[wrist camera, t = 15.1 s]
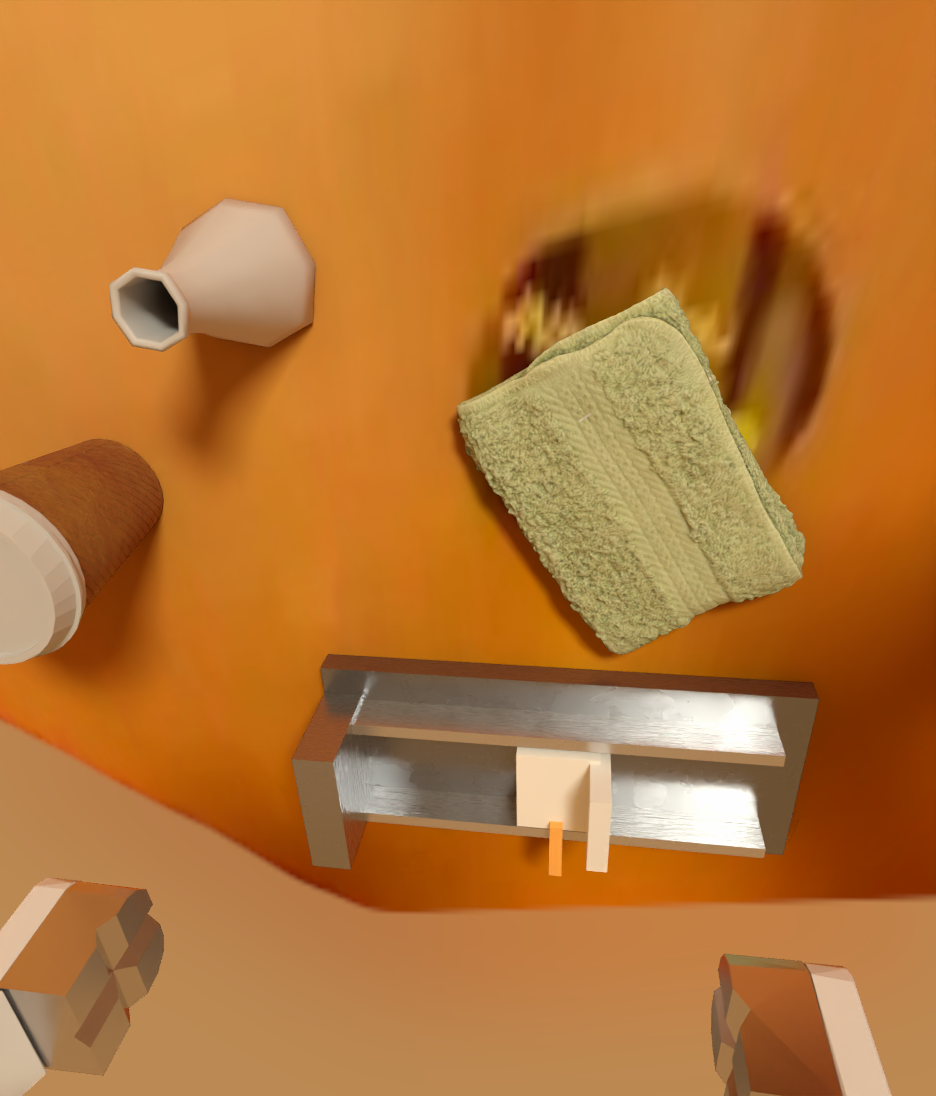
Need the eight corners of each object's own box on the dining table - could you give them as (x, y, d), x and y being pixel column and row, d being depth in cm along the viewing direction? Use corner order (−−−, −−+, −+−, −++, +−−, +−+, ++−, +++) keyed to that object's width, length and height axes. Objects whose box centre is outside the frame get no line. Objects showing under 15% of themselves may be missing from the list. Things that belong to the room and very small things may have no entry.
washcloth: (665, 268, 35) (672, 278, 32) (814, 555, 40) (830, 585, 38) (441, 407, 40) (430, 426, 37) (602, 646, 45) (602, 678, 42)
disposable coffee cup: (149, 398, 41) (-2, 479, 31) (212, 546, 46) (99, 662, 35) (11, 427, 44) (-172, 512, 33) (83, 566, 48) (-60, 681, 37)
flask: (335, 336, 38) (259, 388, 30) (210, 356, 40) (103, 412, 31) (296, 183, 35) (198, 191, 26) (162, 211, 37) (28, 228, 28)
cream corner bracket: (609, 734, 45) (612, 801, 41) (602, 844, 50) (603, 915, 45) (519, 727, 46) (511, 792, 42) (520, 836, 51) (513, 905, 46)
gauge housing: (812, 682, 44) (851, 775, 37) (778, 836, 50) (806, 939, 43) (327, 654, 48) (286, 732, 42) (350, 798, 54) (317, 886, 48)
